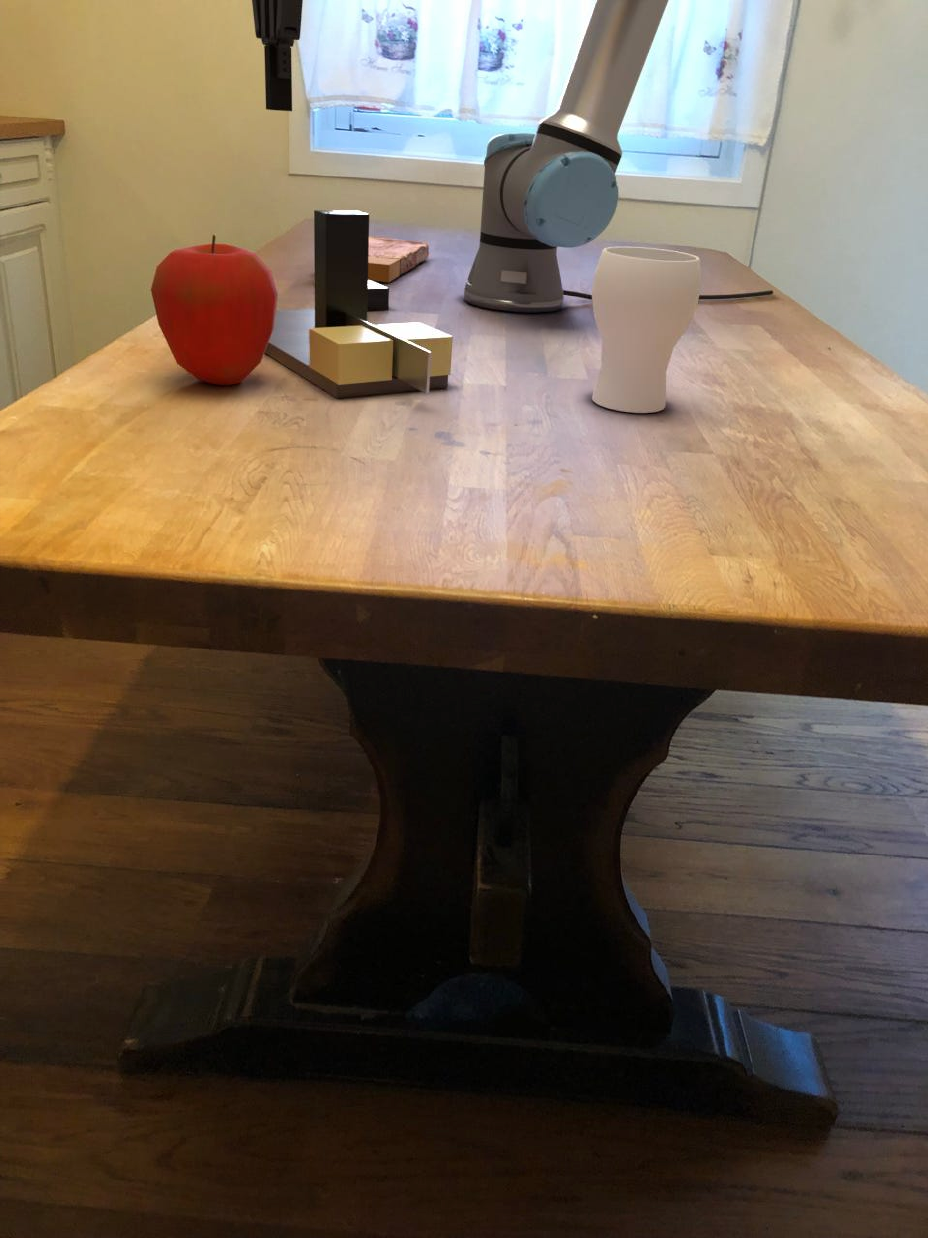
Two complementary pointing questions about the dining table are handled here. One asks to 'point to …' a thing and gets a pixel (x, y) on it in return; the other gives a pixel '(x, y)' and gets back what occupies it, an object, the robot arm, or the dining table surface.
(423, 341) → the butter
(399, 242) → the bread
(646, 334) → the cup
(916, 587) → the dining table surface
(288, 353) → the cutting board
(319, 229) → the butter slicer
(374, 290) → the dark rectangular block
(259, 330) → the apple
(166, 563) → the dining table surface
